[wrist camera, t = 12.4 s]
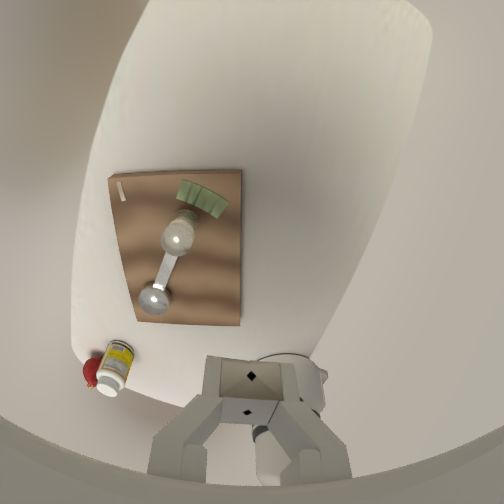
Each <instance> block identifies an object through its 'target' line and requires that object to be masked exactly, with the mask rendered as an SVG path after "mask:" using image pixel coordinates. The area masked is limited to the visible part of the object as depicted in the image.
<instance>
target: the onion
mask: <svg viewBox="0 0 504 504" xmlns="http://www.w3.org/2000/svg"><path fill="white" fill-rule="evenodd" d="M101 361H102V358H101V357H100V358H91V359H89V360H87V361H86V363H85V364H84V367H83V374H84V377H85V379H86V381H87V382H88V384H87V386H88V388H93V387H95V386H96V387H97V383H98V379H97V377H96V373H97V371H98V368H99V366H100V363H101Z"/></svg>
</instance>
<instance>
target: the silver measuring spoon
mask: <svg viewBox="0 0 504 504" xmlns="http://www.w3.org/2000/svg"><path fill="white" fill-rule="evenodd" d="M198 225H199V219H198V217H197V215H196V214H195V213H194V212H193V211H191V210H188V209H181V210H178V211H177V212H176V213H175V214H174V215H173V217H172V219H171V220H170V222H169V224H168V225H167V227H166V229H165V230H164V232H163V234H162V236H161V245H162V248H163V249H164V250H165V251H166V253H165V256H164V258H163V261H162V264H161V266H160V269H159V272H158V274H157V277H156V280H155V283H149V284H146V285H145V286H144V287H143V289H142V291H141V293H140V295H139V297H138V302H139V305H140V307H141V308H142V309H143V310H144V311H145V312H147V313H149V314H151V315H162V314H164V313H165V312H166V311H167V309H168V306H169V303H170V300H171V295H170V293H169V291H168V290H167V289H166V288H165V287H166V284H167V282H168V279H169V277H170V274H171V272H172V269H173V267H174V265H175V262H176V260H177V257H178V256H183V255H185V254H186V253H188V252H189V250H190V248H191V245H192V242H193V240H194V237H195V234H196V231H197V228H198Z"/></svg>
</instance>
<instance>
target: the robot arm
mask: <svg viewBox="0 0 504 504" xmlns="http://www.w3.org/2000/svg"><path fill="white" fill-rule="evenodd" d="M327 378H328V373H327V371H325V370H323V369H320V368H318V367H317V366H316V365H315V363H314V362H312V361H311V360H310V359H308V358H306V357H303V356H299V355H291V354H283V355H275V356H270V357H267V358H264V359H261V360H259V361H251V360H250V361H246V360H238V359H230V358H223V357H215V356H207V358H206V363H205V371H204V380H203V388H202V395H198V394H197V395H196V396H195V397H194V398H193V399H192V400H191V401H190V402H189V403H188V404H187V405H186V406H185V407H184V408H183V409H182V410H181V411H180V412H179V413H178V414H177V415H176V416H175V417H174V418H173V419H172V420H171V421H170V422H169V423H168V424H167V425H166V426H165V427H163V428H162V429H161V430H160V431H159V432H158V433H157V434H156V435H155V436H154V437H153V443H152V448H151V453H150V458H149V464H148V470H147V474H145V473H142V472H137V471H133V470H129V469H126V468H121V467H118V466H114V465H111V464H108V463H105V462H102V461H99V460H96V459H93V458H89V457H87V456H84V455H81V454H79V453H76V452H73V451H71V450H68V449H66V448H63V447H61V446H59V445H56V444H54V443H52V442H49V441H47V440H45V439H43V438H41V437H39V436H37V435H35V434H33V433H31V432H29V431H27V430H25V429H23V428H21V427H19V426H17V425H16V424H14V423H12V422H10V421H9V420H7V419H5V418H4V417H2V416H0V504H504V426H501V427H499V428H497V429H495V430H493V431H491V432H489V433H488V434H486V435H484V436H482V437H479V438H477V439H475V440H473V441H471V442H469V443H467V444H465V445H462V446H460V447H457V448H455V449H452V450H450V451H448V452H445V453H442V454H440V455H437V456H434V457H432V458H428V459H426V460H423V461H420V462H417V463H413V464H410V465H407V466H403V467H400V468H396V469H392V470H388V471H384V472H380V473H376V474H371V475H367V476H361V477H356V478H352V473H351V468H350V463H349V458H348V453H347V449H346V445H345V444H344V443H343V442H342V441H341V440H340V439H339V438H338V437H337V436H336V435H335V434H334V433H333V432H332V431H331V430H330V429H329V428H328V426H327V425H326V424H325V423H324V422H323V421H322V420H321V419H320V414H319V413H320V412H321V411H322V410H323V408H324V407H325V397H324V391H323V384H324V382H325V381H326V379H327ZM220 423H235V424H250V425H252V437H253V441H254V443H255V450H256V475H257V478H258V480H259V481H260V482H261V484H262V485H263V486H233V485H219V484H207V483H206V466H207V449H206V448H205V447H203V446H202V445H203V444H204V442H205V441H206V440H207V439H208V437H209V436H210V435H211V434H212V432H213V431H214V430H215V429H216V427H217V426H218V425H219V424H220Z"/></svg>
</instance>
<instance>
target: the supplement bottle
mask: <svg viewBox="0 0 504 504" xmlns="http://www.w3.org/2000/svg"><path fill="white" fill-rule="evenodd" d="M133 358H134V352H133V350H132V349H131V348H130V347H129V346H128V345H127V344H125V343H123V342H120V341H112V342H110V343H109V345H108V347H107V349H106V351H105V354H104V356H103V358H102V361H101V363H100V366H99V368H98V371H97V373H96V377H97V379H98V383H97V389H98V390H99V391H100V392H101V393H103V394H104V395H107V396H110V397H115V396H117V393H118V391H119V390H120V389H122V388H123V387H124V386H125V383H126V380H127V376H128V373H129V370H130V367H131V364H132V361H133Z"/></svg>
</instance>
